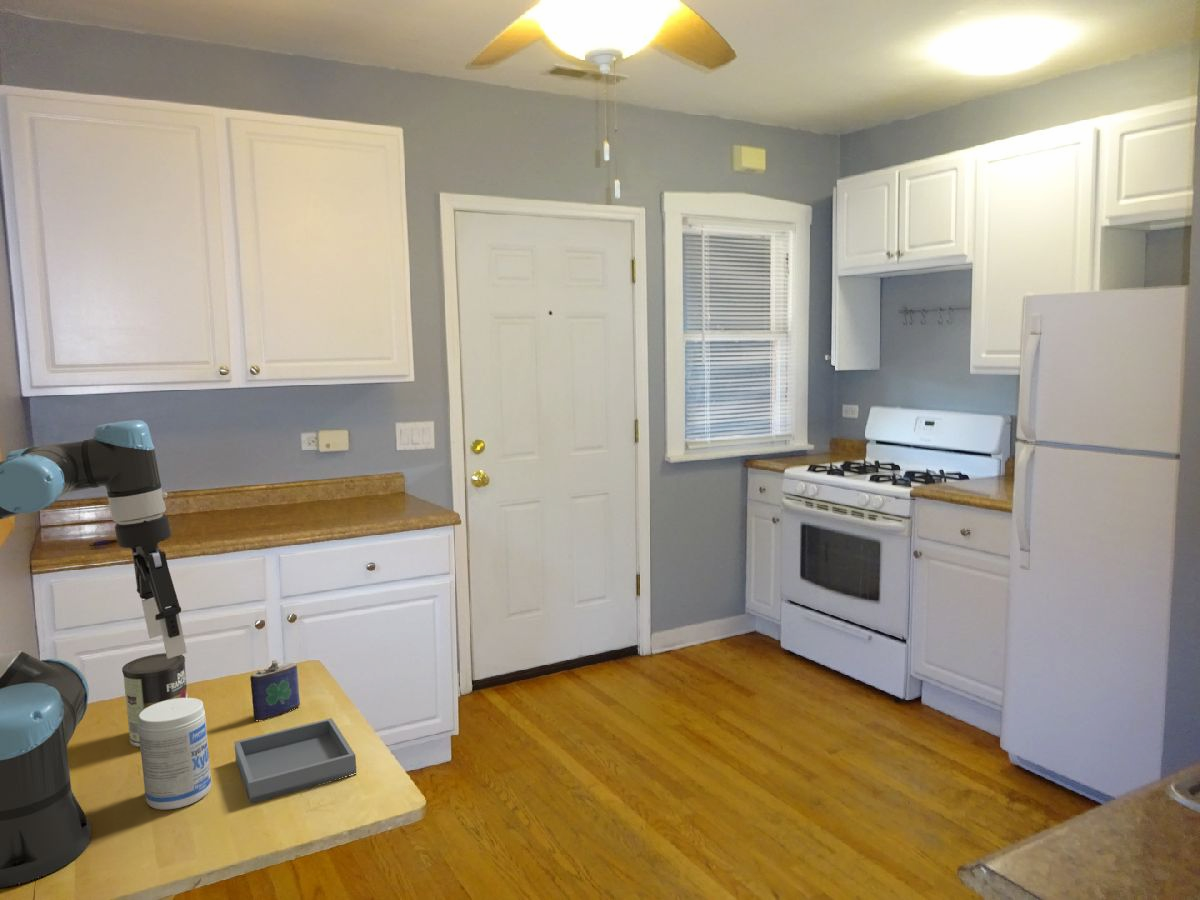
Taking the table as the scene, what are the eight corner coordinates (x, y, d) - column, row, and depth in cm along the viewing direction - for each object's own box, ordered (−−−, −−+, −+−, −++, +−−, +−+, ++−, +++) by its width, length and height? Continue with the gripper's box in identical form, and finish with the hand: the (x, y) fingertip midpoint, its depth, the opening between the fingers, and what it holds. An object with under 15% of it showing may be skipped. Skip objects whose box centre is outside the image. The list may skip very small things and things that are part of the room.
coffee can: (201, 722, 161) (195, 651, 159) (173, 747, 151) (166, 672, 149) (149, 722, 161) (142, 652, 159) (117, 748, 151) (109, 673, 149)
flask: (296, 703, 168) (293, 652, 167) (303, 707, 166) (299, 656, 165) (251, 718, 162) (247, 666, 160) (257, 723, 160) (253, 669, 158)
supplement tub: (211, 803, 132) (203, 714, 130) (143, 818, 128) (134, 727, 126) (211, 775, 140) (204, 692, 139) (148, 788, 136) (139, 703, 135)
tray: (356, 774, 139) (355, 754, 139) (250, 804, 131) (248, 783, 131) (333, 736, 154) (331, 718, 153) (235, 760, 145) (234, 741, 145)
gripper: (184, 522, 124) (211, 656, 127) (150, 504, 143) (175, 621, 147) (128, 534, 120) (158, 673, 123) (101, 514, 139) (127, 634, 142)
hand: (167, 645), depth 135 cm, fingers open, 13 cm apart
